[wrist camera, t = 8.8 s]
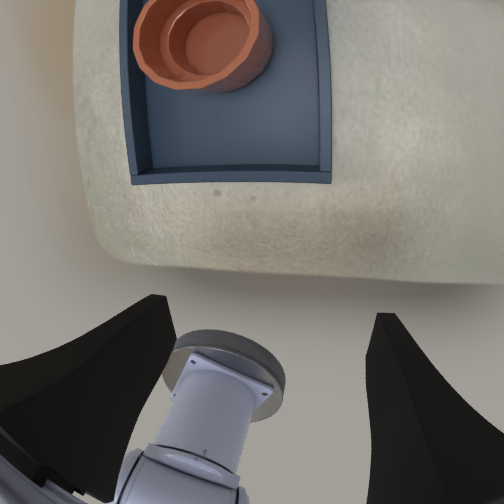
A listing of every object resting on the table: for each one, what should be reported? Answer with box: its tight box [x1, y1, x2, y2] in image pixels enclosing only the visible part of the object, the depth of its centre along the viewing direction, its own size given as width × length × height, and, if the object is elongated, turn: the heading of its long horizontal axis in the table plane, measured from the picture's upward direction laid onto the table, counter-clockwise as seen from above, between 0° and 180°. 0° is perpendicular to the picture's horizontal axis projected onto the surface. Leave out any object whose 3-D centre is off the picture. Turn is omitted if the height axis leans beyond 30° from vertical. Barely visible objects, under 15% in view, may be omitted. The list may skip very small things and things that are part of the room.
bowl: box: [133, 0, 273, 93], centre depth 12 cm, size 6×6×4 cm
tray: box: [119, 0, 332, 185], centre depth 13 cm, size 15×11×2 cm
